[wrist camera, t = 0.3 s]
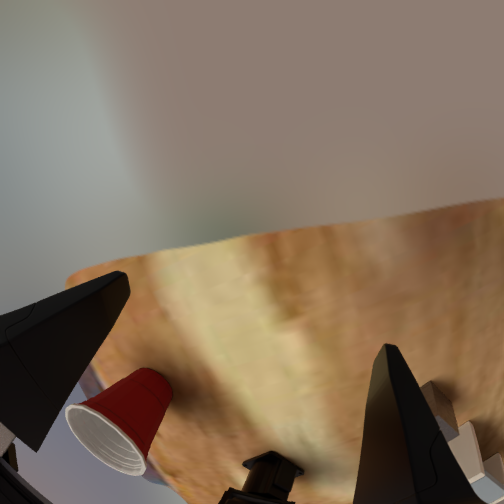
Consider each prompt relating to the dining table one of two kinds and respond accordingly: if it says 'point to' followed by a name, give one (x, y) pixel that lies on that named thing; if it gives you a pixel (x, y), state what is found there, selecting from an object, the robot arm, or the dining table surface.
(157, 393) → the plastic cup
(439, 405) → the block
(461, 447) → the white step stool
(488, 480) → the trapdoor
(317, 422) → the dining table surface
